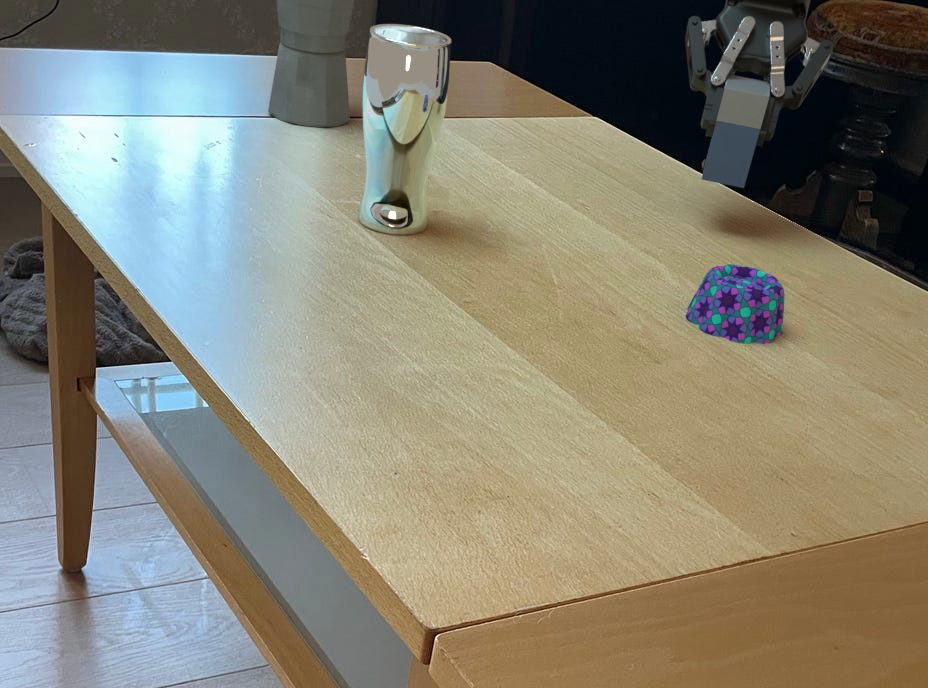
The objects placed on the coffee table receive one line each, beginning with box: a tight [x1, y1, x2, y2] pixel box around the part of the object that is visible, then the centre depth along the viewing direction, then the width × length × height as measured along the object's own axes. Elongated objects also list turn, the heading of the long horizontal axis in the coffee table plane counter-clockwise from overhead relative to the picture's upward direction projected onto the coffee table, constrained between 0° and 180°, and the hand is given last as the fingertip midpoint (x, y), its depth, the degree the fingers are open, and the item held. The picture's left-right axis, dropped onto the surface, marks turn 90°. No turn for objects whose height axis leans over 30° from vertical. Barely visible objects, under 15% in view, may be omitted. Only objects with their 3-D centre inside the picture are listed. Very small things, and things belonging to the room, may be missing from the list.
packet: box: [701, 74, 770, 189], centre depth 107 cm, size 4×6×8 cm, turn 166°
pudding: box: [685, 263, 786, 345], centre depth 88 cm, size 12×12×5 cm
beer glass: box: [357, 23, 452, 236], centre depth 97 cm, size 7×7×15 cm
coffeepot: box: [267, 0, 355, 128], centre depth 119 cm, size 15×9×18 cm, turn 27°
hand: (734, 135), depth 106 cm, fingers closed on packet, 4 cm apart
